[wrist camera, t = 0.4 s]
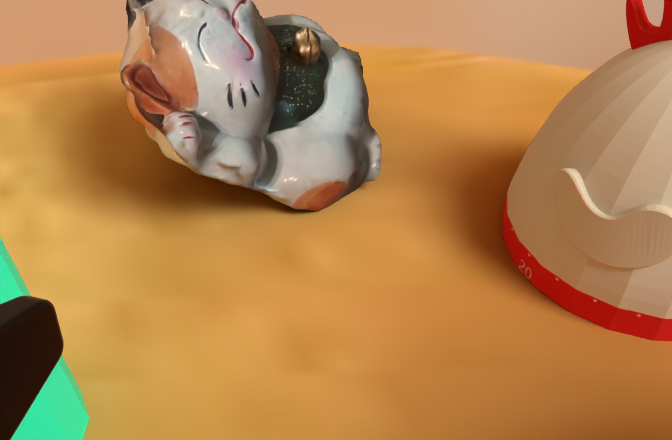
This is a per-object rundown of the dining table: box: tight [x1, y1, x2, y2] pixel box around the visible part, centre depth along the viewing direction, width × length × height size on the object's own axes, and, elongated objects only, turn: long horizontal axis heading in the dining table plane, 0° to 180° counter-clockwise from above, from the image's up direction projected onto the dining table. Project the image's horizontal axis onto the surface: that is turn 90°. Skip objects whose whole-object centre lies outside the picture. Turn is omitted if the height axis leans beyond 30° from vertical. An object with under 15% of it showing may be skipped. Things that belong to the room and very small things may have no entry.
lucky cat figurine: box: [119, 0, 381, 211], centre depth 36 cm, size 15×12×14 cm
